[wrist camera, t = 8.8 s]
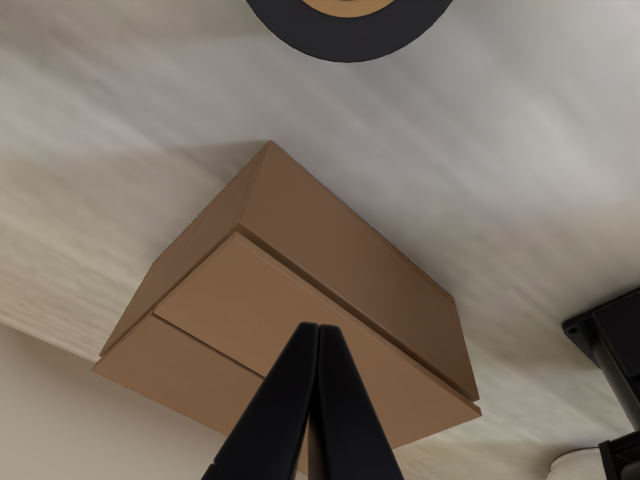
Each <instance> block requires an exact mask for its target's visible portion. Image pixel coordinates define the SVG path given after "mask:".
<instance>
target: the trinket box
mask: <svg viewBox="0 0 640 480" xmlns="http://www.w3.org/2000/svg"><path fill="white" fill-rule="evenodd" d="M550 470H551V472H550V473H549V475H548V476H547V478H546V480H607V479H606V475H605V471H604V468H603V464H602V458H601V454H600V450H599V448H591V449H583V450H578V451H574V452H570V453H567V454H565V455H563V456H561V457H559V458H557V459H556V460H555V461H554V462H553V463H552V464H551V467H550Z"/></svg>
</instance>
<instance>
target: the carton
mask: <svg viewBox="0 0 640 480" xmlns="http://www.w3.org/2000/svg"><path fill="white" fill-rule="evenodd" d="M236 231H237V232H239V233H240V234H241V235H243V236H244V237H245V238H247V239H248V240H250V241H251V242H252V243H254V244H255V245H256V246H258V247H259V248H261V249H262V250H263V251H265V252H266V253H267V254H269V255H270V256H272V257H273V258H274V259H276V260H277V261H278V262H280V263H281V264H283V265H284V266H285V267H287V268H288V269H289V270H291V271H292V272H294V273H295V274H296V275H298V276H299V277H300V278H302V279H303V280H305V281H306V282H307V283H309V284H310V285H311V286H313V287H314V288H316V289H317V290H318V291H320V292H321V293H322V294H324V295H325V296H327V297H328V298H329V299H331V300H332V301H333V302H335V303H336V304H338V305H339V306H340V307H342V308H343V309H344V310H346V311H347V312H349V313H350V314H351V315H353V316H354V317H355V318H357V319H358V320H360V321H361V322H362V323H364V324H365V325H366V326H368V327H369V328H371V329H372V330H373V331H375V332H376V333H377V334H379V335H380V336H382V337H383V338H384V339H386V340H387V341H388V342H390V343H391V344H393V345H394V346H395V347H397V348H398V349H399V350H401V351H402V352H404V353H405V354H406V355H408V356H409V357H410V358H412V359H413V360H415V361H416V362H417V363H419V364H420V365H421V366H423V367H424V368H426V369H427V370H428V371H430V372H431V373H432V374H434V375H435V376H437V377H438V378H439V379H441V380H442V381H443V382H445V383H446V384H448V385H449V386H450V387H452V388H453V389H454V390H456V391H457V392H459V393H460V394H461V395H463V396H464V397H465V398H467V399H468V400H470V401H471V402H475V401H477V400H479V399H480V398H479V394H478V390H477V387H476V383H475V379H474V375H473V371H472V367H471V363H470V359H469V356H468V352H467V348H466V344H465V340H464V336H463V332H462V328H461V325H460V321H459V317H458V313H457V309H456V305H455V301H454V298H452V297H451V296H450V295H449V294H448V293H447V292H446V291H444V290H443V289H442V288H441V287H440V286H439V285H437V284H436V283H435V282H434V281H433V280H432V279H431V278H429V277H428V276H427V275H426V274H425V273H424V272H422V271H421V270H420V269H419V268H418V267H417V266H416V265H414V264H413V263H412V262H411V261H410V260H409V259H407V258H406V257H405V256H404V255H403V254H402V253H401V252H399V251H398V250H397V249H396V248H395V247H394V246H392V245H391V244H390V243H389V242H388V241H387V240H385V239H384V238H383V237H382V236H381V235H380V234H379V233H377V232H376V231H375V230H374V229H373V228H372V227H370V226H369V225H368V224H367V223H366V222H365V221H364V220H362V219H361V218H360V217H359V216H358V215H357V214H355V213H354V212H353V211H352V210H351V209H350V208H349V207H347V206H346V205H345V204H344V203H343V202H342V201H340V200H339V199H338V198H337V197H336V196H335V195H334V194H332V193H331V192H330V191H329V190H328V189H327V188H325V187H324V186H323V185H322V184H321V183H320V182H319V181H317V180H316V179H315V178H314V177H313V176H312V175H310V174H309V173H308V172H307V171H306V170H305V169H304V168H302V167H301V166H300V165H299V164H298V163H297V162H295V161H294V160H293V159H292V158H291V157H290V156H289V155H287V154H286V153H285V152H284V151H283V150H282V149H280V148H279V147H278V146H277V145H276V144H275V143H274V142H272V141H269V142H268V143H267V144H266V145H265V146H264V147H263V148H262V149H261V150H260V152H259V153H258V154H257V155H256V156H255V157H254V158H253V159H252V160H251V161H250V162H249V163H248V164H247V165H246V166H245V167H244V168H243V169H242V170H241V172H240V173H239V174H238V175H237V176H236V177H235V178H234V179H233V180H232V181H231V182H230V183H229V184H228V185H227V186H226V187H225V188H224V189H223V190H222V191H221V193H220V194H219V195H218V196H217V197H216V198H215V199H214V200H213V201H212V202H211V203H210V204H209V205H208V206H207V207H206V208H205V209H204V210H203V211H202V212H201V214H200V215H199V216H198V217H197V218H196V219H195V220H194V221H193V222H192V223H191V224H190V225H189V226H188V227H187V228H186V229H185V230H184V231H183V232H182V234H181V235H180V236H179V237H178V238H177V239H176V240H175V241H174V242H173V243H172V244H171V245H170V246H169V247H168V248H167V249H166V250H165V251H164V252H163V253H162V255H161V256H160V257H159V258H158V259H157V260H156V261H155V262H154V263H153V264H152V266H151V267H150V269H149V271H148V273H147V274H146V276H145V278H144V279H143V281H142V283H141V284H140V286H139V288H138V290H137V291H136V293H135V295H134V296H133V298H132V300H131V301H130V303H129V305H128V307H127V308H126V310H125V312H124V313H123V315H122V317H121V318H120V320H119V322H118V324H117V325H116V327H115V329H114V330H113V332H112V334H111V335H110V337H109V339H108V341H107V342H106V344H105V346H104V347H103V349H102V351H101V352H100V354H99V356H100V357H102V358H101V359H100V360H99V361H98V362H97V363H96V364H95V365H94V367H93V369H92V371H94V372H96V373H98V374H100V375H102V376H104V377H106V378H108V379H110V380H112V381H114V382H116V383H118V384H120V385H123V386H125V387H127V388H129V389H131V390H133V391H135V392H137V393H139V394H141V395H143V396H145V397H147V398H150V399H151V400H153V401H156V402H158V403H160V404H162V405H164V406H166V407H168V408H170V409H172V410H174V411H176V412H178V413H180V414H182V415H184V416H187V417H189V418H191V419H193V420H195V421H197V422H199V423H201V424H203V425H205V426H207V427H209V428H211V429H213V430H215V431H217V432H219V433H222V434H224V435H226V436H229V434H230V433H231V431H232V430H233V428H234V426H235V425H236V423H237V422H238V420H239V419H240V417H241V415H242V414H243V412H244V411H245V409H246V407H247V406H248V404H249V403H250V401H251V399H252V398H253V396H254V395H255V393H256V391H257V390H258V388H259V387H260V385H261V383H262V382H263V380H264V379H265V377H264V376H262V375H260V374H258V373H257V372H255V371H253V370H251V369H250V368H248V367H246V366H245V365H243V364H241V363H239V362H238V361H236V360H234V359H232V358H231V357H229V356H227V355H225V354H224V353H222V352H220V351H219V350H217V349H215V348H213V347H212V346H210V345H208V344H206V343H205V342H203V341H201V340H199V339H198V338H196V337H194V336H193V335H191V334H189V333H187V332H186V331H184V330H182V329H180V328H179V327H177V326H175V325H173V324H172V323H170V322H168V321H167V320H165V319H163V318H161V317H160V316H158V315H156V314H154V313H153V311H154V309H155V307H156V305H158V304H159V303H160V302H161V301H162V300H163V299H164V298H165V297H166V296H167V295H168V294H169V293H170V292H171V291H173V290H174V289H175V288H176V287H177V286H178V285H179V284H180V283H181V282H182V281H183V280H184V279H185V278H186V277H188V276H189V275H190V274H191V273H192V272H193V271H194V270H195V269H196V268H197V267H198V266H199V265H200V264H201V263H203V262H204V261H205V260H206V259H207V258H208V257H209V256H210V255H211V254H212V253H213V252H214V251H215V250H216V249H218V248H219V247H220V246H221V245H222V244H223V243H224V242H225V241H226V240H227V239H228V238H229V237H230V236H231V235H233V234H234V233H235V232H236ZM297 470H298V471H300V472H302V473H304V474H306V475H308V422H307V428H306V433H305V438H304V442H303V446H302V451H301V455H300V459H299V464H298V468H297Z"/></svg>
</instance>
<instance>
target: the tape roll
mask: <svg viewBox="0 0 640 480" xmlns="http://www.w3.org/2000/svg"><path fill="white" fill-rule="evenodd" d="M246 1H247V3H248V4H249V6H250V7H251V8H252V10H253V11H254V13H255V14H256V16H257V17H258V18H259V19H260V20H261V21H262V22H263V23H264V25H265V26H266V27H267V28H268V29H269V30H270V31H271V32H273V33H274V34H275V35H276V36H277V37H278V38H279V39H281V40H282V41H284V42H285V43H287V44H288V45H289V46H291V47H292V48H294V49H296V50H298V51H300V52H302V53H304V54H306V55H309V56H312V57H315V58H318V59H322V60H327V61H332V62H344V63H351V62H363V61H368V60H372V59H377V58H380V57H383V56H385V55H388V54H391V53H393V52H395V51H397V50H399V49H401V48H403V47H405V46H406V45H408V44H409V43H411V42H412V41H414V40H415V39H417V38H418V37H419V36H421V35H422V34H423V33H424V32H425V31H426V30H427V29H429V28H430V27H431V26H432V25H433V24H434V23H435V22H436V21H437V19H438V18H439V17H440V16H441V15H442V14H443V13H444V12H445V10H446V9H447V8H448V6H449V5H450V3H451V2H452V1H453V0H246Z"/></svg>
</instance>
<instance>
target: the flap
mask: <svg viewBox="0 0 640 480" xmlns="http://www.w3.org/2000/svg"><path fill="white" fill-rule="evenodd" d="M153 313H154V314H156V315H158V316H160V317H161V318H163V319H165V320H167V321H168V322H170V323H172V324H173V325H175V326H177V327H179V328H180V329H182V330H184V331H186V332H187V333H189V334H191V335H193V336H194V337H196V338H198V339H199V340H201V341H203V342H205V343H206V344H208V345H210V346H212V347H213V348H215V349H217V350H219V351H220V352H222V353H224V354H225V355H227V356H229V357H231V358H232V359H234V360H236V361H238V362H239V363H241V364H243V365H245V366H246V367H248V368H250V369H251V370H253V371H255V372H257V373H258V374H260V375H262V376H264V377H266V375H267V374H268V372H269V371H270V369H271V367H272V366H273V364H274V363H275V361H276V359H277V358H278V356H279V355H280V353H281V352H282V350H283V348H284V347H285V345H286V344H287V342H288V340H289V339H290V337H291V336H292V334H293V332H294V331H295V329H296V328H297V326H298V324H299V323H300V322H302V321H306V322H314V323H318V324H319V328H320V325H321V324H330V325H337V326H339V327H340V329H341V331H342V333H343V335H344V338H345V340H346V343H347V345H348V347H349V350H350V352H351V354H352V357H353V359H354V362H355V364H356V366H357V369H358V371H359V373H360V376H361V378H362V381H363V383H364V385H365V388H366V390H367V392H368V395H369V397H370V400H371V402H372V404H373V407H374V409H375V411H376V414H377V416H378V419H379V421H380V423H381V426H382V428H383V430H384V433H385V435H386V438H387V440H388V442H389V445H390V447H391V449H395V448H397V447H400V446H403V445H405V444H408V443H411V442H413V441H416V440H419V439H421V438H424V437H427V436H430V435H432V434H435V433H438V432H440V431H443V430H446V429H448V428H451V427H454V426H456V425H459V424H462V423H464V422H467V421H470V420H472V419H475V418H478V417H480V416H482V414H481V410H480V408H479V407H478V406H476V405H475V404H474V403H472V402H471V401H470V400H468V399H467V398H465V397H464V396H463V395H461V394H460V393H459V392H457V391H456V390H454V389H453V388H452V387H450V386H449V385H448V384H446V383H445V382H443V381H442V380H441V379H439V378H438V377H437V376H435V375H434V374H432V373H431V372H430V371H428V370H427V369H426V368H424V367H423V366H421V365H420V364H419V363H417V362H416V361H415V360H413V359H412V358H410V357H409V356H408V355H406V354H405V353H404V352H402V351H401V350H399V349H398V348H397V347H395V346H394V345H393V344H391V343H390V342H388V341H387V340H386V339H384V338H383V337H382V336H380V335H379V334H377V333H376V332H375V331H373V330H372V329H371V328H369V327H368V326H366V325H365V324H364V323H362V322H361V321H360V320H358V319H357V318H355V317H354V316H353V315H351V314H350V313H349V312H347V311H346V310H344V309H343V308H342V307H340V306H339V305H338V304H336V303H335V302H333V301H332V300H331V299H329V298H328V297H327V296H325V295H324V294H322V293H321V292H320V291H318V290H317V289H316V288H314V287H313V286H311V285H310V284H309V283H307V282H306V281H305V280H303V279H302V278H300V277H299V276H298V275H296V274H295V273H294V272H292V271H291V270H289V269H288V268H287V267H285V266H284V265H283V264H281V263H280V262H278V261H277V260H276V259H274V258H273V257H272V256H270V255H269V254H267V253H266V252H265V251H263V250H262V249H261V248H259V247H258V246H256V245H255V244H254V243H252V242H251V241H250V240H248V239H247V238H245V237H244V236H243V235H241V234H240V233H239V232H237V231H236V232H235V233H234V234H233V235H231V236H230V237H229V238H228V239H227V240H226V241H225V242H224V243H223V244H222V245H221V246H220V247H219V248H218V249H216V250H215V251H214V252H213V253H212V254H211V255H210V256H209V257H208V258H207V259H206V260H205V261H204V262H203V263H201V264H200V265H199V266H198V267H197V268H196V269H195V270H194V271H193V272H192V273H191V274H190V275H189V276H188V277H186V278H185V279H184V280H183V281H182V282H181V283H180V284H179V285H178V286H177V287H176V288H175V289H174V290H173V291H171V292H170V293H169V294H168V295H167V296H166V297H165V298H164V299H163V300H162V301H161V302H160V303H159V304H158V305H156V307H155V309H154V311H153Z"/></svg>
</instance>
